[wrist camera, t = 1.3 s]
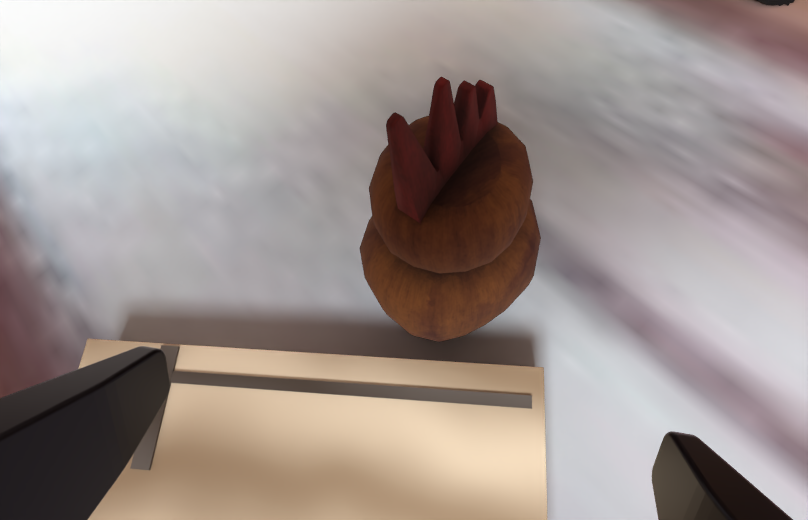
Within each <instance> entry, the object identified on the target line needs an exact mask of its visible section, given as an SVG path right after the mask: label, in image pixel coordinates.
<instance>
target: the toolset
mask: <svg viewBox="0 0 808 520" xmlns="http://www.w3.org/2000/svg"><path fill="white" fill-rule="evenodd" d="M758 1H760V2H762V3H764V4H766V5H779V6H780V5H783V4H786V5H789V3H793V2H794V0H758Z"/></svg>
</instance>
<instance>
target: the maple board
mask: <svg viewBox="0 0 808 520" xmlns="http://www.w3.org/2000/svg"><path fill="white" fill-rule="evenodd" d="M139 346H147V347H153V348H159V349H161V350H163V352H164V353H165V356H166V361H167V367H168V373H169V379H170V391H169V394H168V396H167V398H166V400H165V402H164V404H163V405H162V407H161V409H160V410H159V412H158V414H157V415H156V417H155V419H154V420H153V422H152V424H151V425H150V427H149V429H148V431H147V432H146V434H145V436H144V437H143V439H142V441H141V442H140V444H139V446H138V447H137V449H136V451H135V452H134V454H133V456H132V457H131V459H130V461H129V462H128V464H127V465H126V467H125V469H124V470H123V471H122V473H121V474H120V476H119V477H118V479H117V480H116V481H115V483H114V484H113V486H112V487H111V488H110V490H109V491H108V492H107V494H106V495H105V497H104V498H103V499H102V501H101V502H100V503H99V505H98V506H97V508H96V509H95V510H94V512H93V513H92V514H91V516H90V517H89V519H88V520H547V490H546V448H545V405H544V368H543V367H528V366H512V365H496V364H480V363H464V362H449V361H433V360H417V359H401V358H385V357H369V356H354V355H338V354H322V353H306V352H290V351H274V350H259V349H243V348H227V347H211V346H195V345H179V344H164V343H148V342H132V341H116V340H100V339H88V340H87V343H86V346H85V349H84V353H83V356H82V359H81V362H80V366H79V369H80V368H83V367H85V366H88V365H91V364H93V363H96V362H99V361H101V360H104V359H107V358H109V357H112V356H115V355H117V354H120V353H123V352H125V351H128V350H131V349H133V348H136V347H139Z"/></svg>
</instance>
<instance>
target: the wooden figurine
mask: <svg viewBox="0 0 808 520" xmlns="http://www.w3.org/2000/svg"><path fill="white" fill-rule="evenodd" d="M386 128H387V136H388V146H387V147H386V148H385V149H384V151H383V152H382V153H381V155H380V157H379V160H378V163H377V166H376V169H375V172H374V174H373V177H372V180H371V183H370V186H369V192H370V200H371V208H372V217H371V219H370V220H369V222H368V225H367V228H366V231H365V234H364V237H363V240H362V243H361V246H360V253H361V259H362V264H363V270H364V275H365V278H366V280H367V282H368V284H369V286H370V288H371V290H372V291H373V293H374V295H375V297H376V298H377V300H378V302H379V303H380V305H381V307H382V308H383V310H384V311H385V312H386V314H387V315H388V316H389V317H391V318H392V319H393V320H394V321H395V322H396V323H398V324H399V325H400V326H401V327H402V328H404V329H405V330H406V331H407V332H408V333H410V334H411V335H413V336H417V337H421V338H425V339H429V340H433V341H438V342H440V341H445V340H449V339H453V338H457V337H461V336H465V335H466V334H468V333H470V332H472V331H474V330H476V329H478V328H480V327H482V326H484V325H486V324H487V323H488V322H490V321H491V320H492V319H494V318H495V317H497V316H498V315H499V314H501V313H502V312H504V311H505V310H506V309H507V308H508V307H509V306H510V305H511V304H512V303H513V302H514V300H515V299H516V298H517V297H518V296H519V295H520V294H521V293H522V292H523V291H524V290H525V288H526V287H527V286H528V285H529V283H530V281H531V280H532V278H533V276H534V271H535V266H536V260H537V255H538V250H539V244H540V239H541V237H540V233H539V228H538V224H537V220H536V216H535V212H534V207H533V203H532V201H531V199H530V195H531V190H532V184H533V179H532V174H531V169H530V164H529V160H528V155H527V151H526V147H525V145H524V144H523V143H522V142H521V141H520V140H519V139H518V138H517V137H516V136H515V135H514V133H513V132H512V131H511V130H510V129H509V128H508V127H506V126H504V125H502V124H500V123H498V122H497V112H496V100H495V94H494V87H493V86H491V85H489V84H488V83H486V82H484V81H482V80H479V81H478V82H477V84H476V85H475V86H474V85H472V84H470V83H468V82H466V81H465V80H464V81H463V82H462V83H461V84H460V85H459V87H458V90H457V94H456V98H455V102H453V97H452V91H451V86H450V81H449V80H447V79H445V78H443V77H440V78H439V79H438V80H437V81H436V83H435V85H434V90H433V96H432V102H431V108H430V114H429V116H426V117H423V118H420V119H418V120H415V121H414V122H412V123H411V124H410V125H408V124H407V122H406V120H405V119H404V117H402V116H401V115H399V114H397V113H396V112H395V113H393V114H392V115H391V116H390V118H389V119H388V121H387V124H386Z"/></svg>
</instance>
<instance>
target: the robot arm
mask: <svg viewBox="0 0 808 520" xmlns="http://www.w3.org/2000/svg"><path fill="white" fill-rule="evenodd" d="M169 391H170V379H169V373H168V367H167V361H166V356H165V353H164V352H163V350H161V349H159V348H153V347H147V346H139V347H136V348H133V349H131V350H128V351H125V352H123V353H120V354H117V355H115V356H112V357H109V358H107V359H104V360H101V361H99V362H96V363H93V364H91V365H88V366H85V367H83V368H80V369H77V370H75V371H72V372H69V373H67V374H64V375H61V376H59V377H56V378H53V379H50V380H48V381H45V382H42V383H40V384H37V385H34V386H32V387H29V388H26V389H24V390H21V391H18V392H16V393H13V394H10V395H8V396H5V397H2V398H0V520H88V519H89V517H90V516H91V514H92V513H93V512H94V510H95V509H96V508H97V506H98V505H99V503H100V502H101V501H102V499H103V498H104V497H105V495H106V494H107V492H108V491H109V490H110V488H111V487H112V486H113V484H114V483H115V481H116V480H117V479H118V477H119V476H120V474H121V473H122V471H123V470H124V469H125V467H126V465H127V464H128V462H129V461H130V459H131V457H132V456H133V454H134V452H135V451H136V449H137V447H138V446H139V444H140V442H141V441H142V439H143V437H144V436H145V434H146V432H147V431H148V429H149V427H150V425H151V424H152V422H153V420H154V419H155V417H156V415H157V414H158V412H159V410H160V409H161V407H162V405H163V404H164V402H165V400H166V398H167V396H168V394H169ZM652 484H653V490H654V496H655V502H656V507H657V513H658V519H659V520H793V519H792V518H791V517H789V516H788V515H787V514H786V513H785V512H784V511H782V510H781V509H780V508H779V507H778V506H777V505H775V504H774V503H773V502H772V501H771V500H770V499H769V498H767V497H766V496H765V495H764V494H763V493H762V492H760V491H759V490H758V489H757V488H756V487H755V486H753V485H752V484H751V483H750V482H749V481H748V480H747V479H745V478H744V477H743V476H742V475H741V474H740V473H738V472H737V471H736V470H735V469H734V468H733V467H731V466H730V465H729V464H728V463H727V462H726V461H725V460H723V459H722V458H721V457H720V456H719V455H718V454H716V453H715V452H714V451H713V450H712V449H711V448H709V447H708V446H707V445H706V444H705V443H704V442H703V441H701V440H700V439H699V438H698V437H696V436H694V435H691V434H685V433H679V432H668V433H667V434H666V435H665V436H664V438H663V441H662V444H661V446H660V449H659V452H658V455H657V457H656V460H655V463H654V466H653V470H652Z"/></svg>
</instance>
